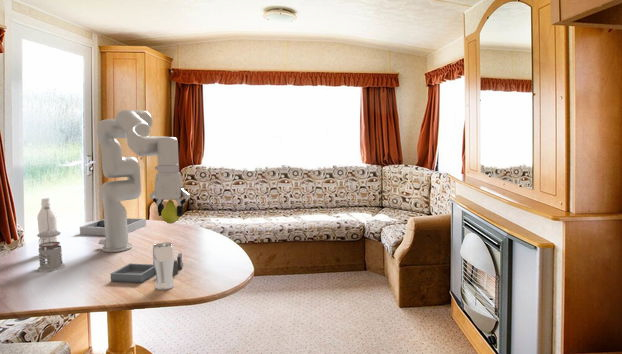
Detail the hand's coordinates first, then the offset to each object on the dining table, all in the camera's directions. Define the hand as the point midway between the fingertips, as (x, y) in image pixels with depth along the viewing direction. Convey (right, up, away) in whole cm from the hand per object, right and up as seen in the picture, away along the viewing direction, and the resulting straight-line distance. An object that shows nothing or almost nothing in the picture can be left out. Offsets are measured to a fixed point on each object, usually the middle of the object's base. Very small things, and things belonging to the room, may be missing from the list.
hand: (170, 215), depth 162 cm
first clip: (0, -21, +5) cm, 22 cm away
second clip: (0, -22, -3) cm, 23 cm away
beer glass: (+3, -24, -15) cm, 29 cm away
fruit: (0, -3, 0) cm, 3 cm away
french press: (-51, -22, +7) cm, 56 cm away
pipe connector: (-57, -15, +70) cm, 92 cm away
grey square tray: (-11, -23, -5) cm, 26 cm away
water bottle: (-62, -20, +25) cm, 70 cm away
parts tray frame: (-55, -15, +71) cm, 91 cm away
